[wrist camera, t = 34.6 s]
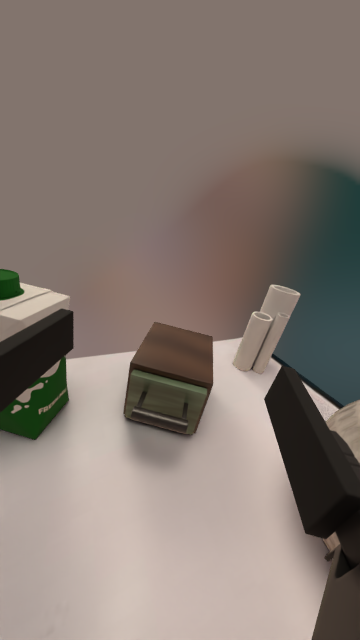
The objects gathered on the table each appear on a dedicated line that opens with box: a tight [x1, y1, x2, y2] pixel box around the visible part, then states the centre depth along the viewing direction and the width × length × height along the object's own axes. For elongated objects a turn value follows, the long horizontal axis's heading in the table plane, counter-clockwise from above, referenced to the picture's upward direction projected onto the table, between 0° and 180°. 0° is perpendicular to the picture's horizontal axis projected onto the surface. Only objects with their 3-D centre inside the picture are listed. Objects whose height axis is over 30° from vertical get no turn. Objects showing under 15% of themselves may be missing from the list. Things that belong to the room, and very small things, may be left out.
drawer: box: [125, 369, 207, 435], centre depth 34 cm, size 17×11×8 cm, turn 172°
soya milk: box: [0, 269, 70, 440], centre depth 26 cm, size 9×9×20 cm
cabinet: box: [123, 322, 213, 433], centre depth 37 cm, size 14×12×10 cm
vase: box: [233, 285, 300, 374], centre depth 51 cm, size 11×7×20 cm, turn 140°
